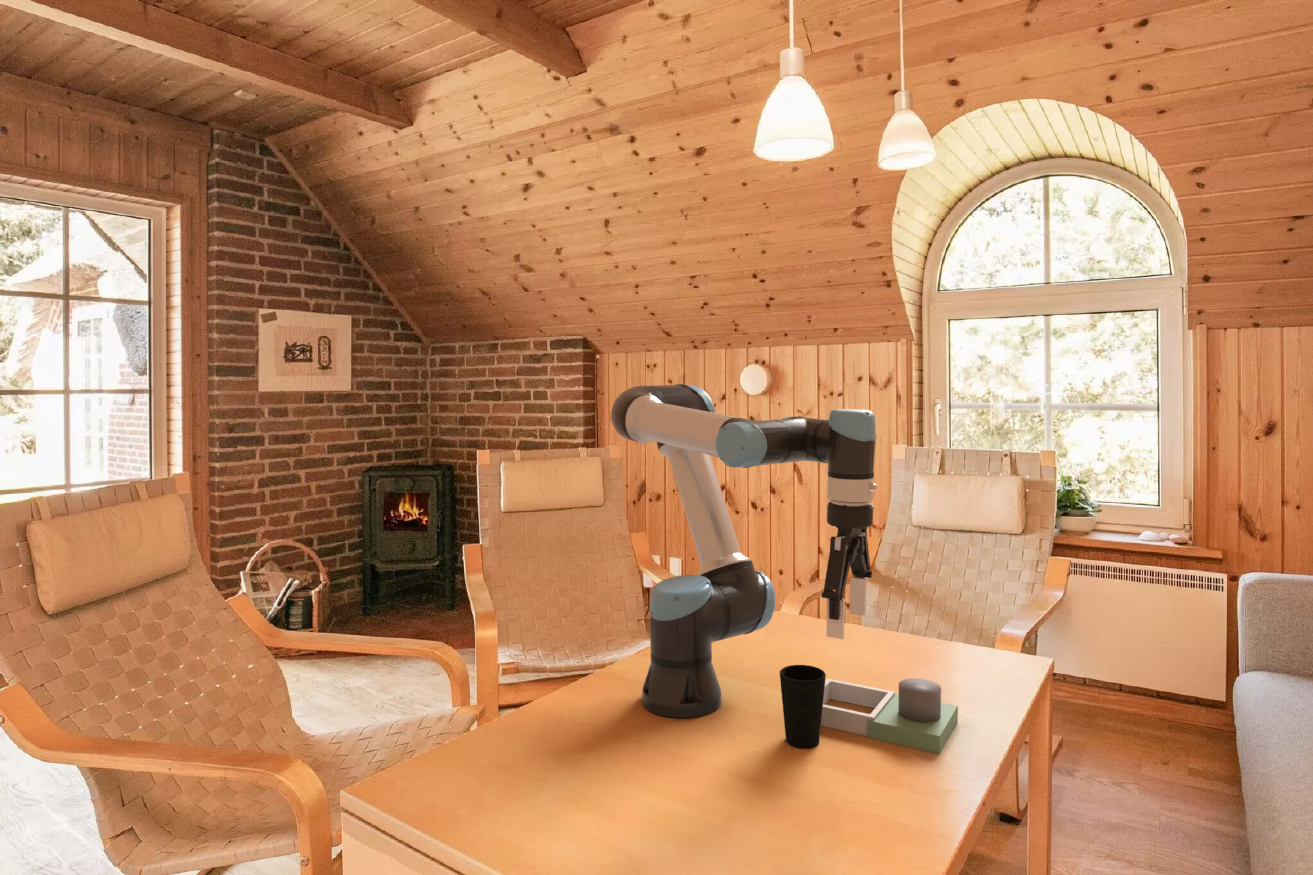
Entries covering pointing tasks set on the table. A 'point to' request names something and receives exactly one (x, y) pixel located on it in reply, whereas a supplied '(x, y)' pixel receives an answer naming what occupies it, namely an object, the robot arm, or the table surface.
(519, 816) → the table surface
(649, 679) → the robot arm
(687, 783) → the table surface
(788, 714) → the cup
